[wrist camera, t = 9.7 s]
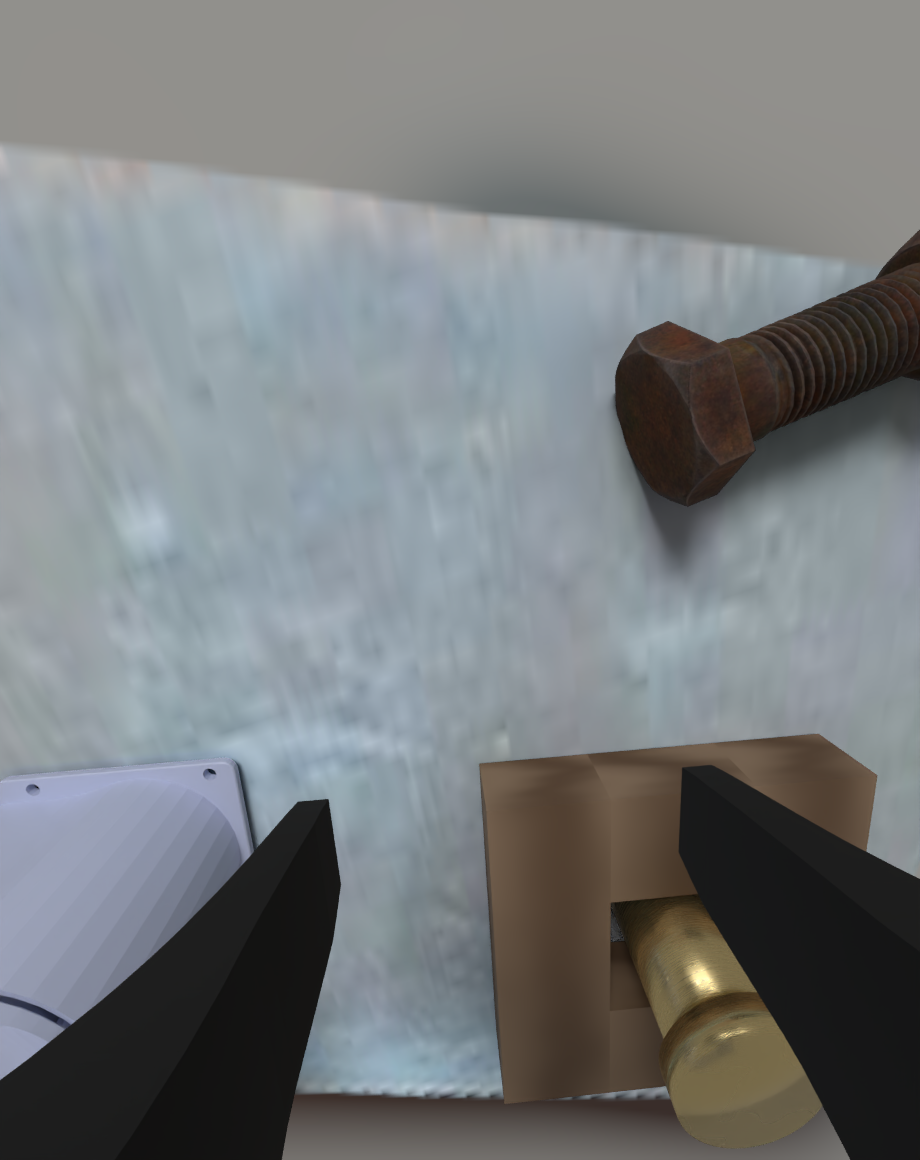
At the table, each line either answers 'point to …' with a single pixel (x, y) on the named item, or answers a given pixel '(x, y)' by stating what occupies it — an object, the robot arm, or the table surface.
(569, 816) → the socket plate
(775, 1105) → the brass pin
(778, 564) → the table surface
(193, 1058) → the robot arm
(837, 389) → the bolt
